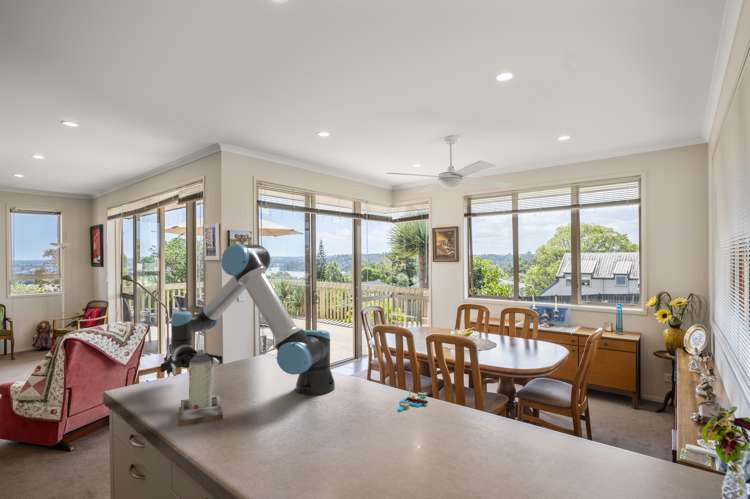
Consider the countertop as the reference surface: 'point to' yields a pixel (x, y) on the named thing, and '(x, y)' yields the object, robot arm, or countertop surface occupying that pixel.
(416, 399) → the toy boat
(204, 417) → the shallow tray
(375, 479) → the countertop surface
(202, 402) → the aerosol can
